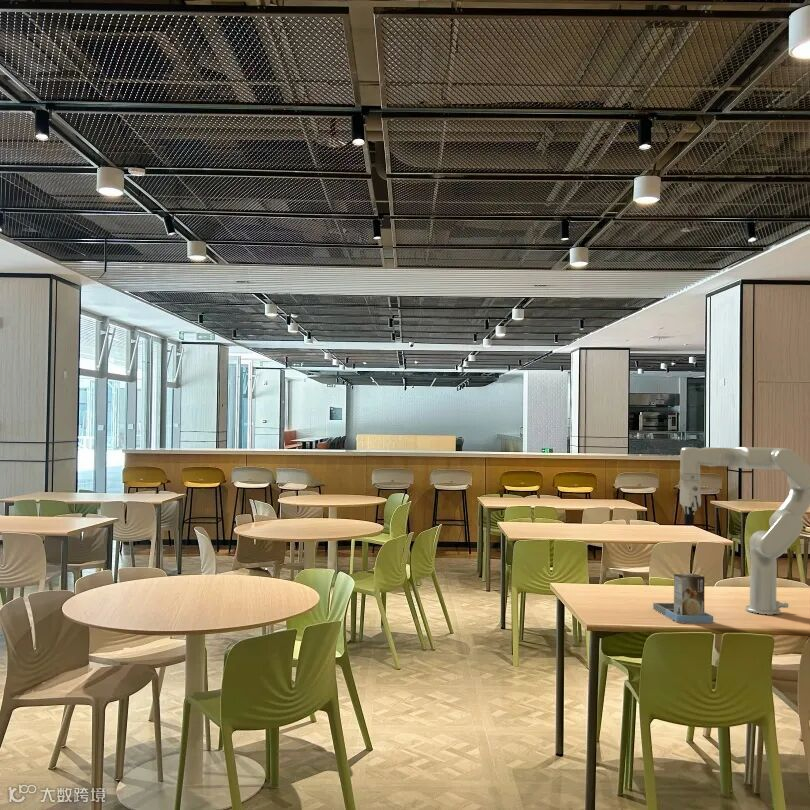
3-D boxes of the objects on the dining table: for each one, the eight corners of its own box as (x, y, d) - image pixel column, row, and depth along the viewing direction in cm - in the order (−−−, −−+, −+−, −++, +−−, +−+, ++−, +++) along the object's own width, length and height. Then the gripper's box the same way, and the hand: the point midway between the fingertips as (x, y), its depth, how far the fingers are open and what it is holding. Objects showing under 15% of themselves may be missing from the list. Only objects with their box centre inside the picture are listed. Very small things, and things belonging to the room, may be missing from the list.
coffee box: (695, 616, 299) (696, 573, 299) (704, 620, 292) (705, 576, 293) (672, 616, 297) (673, 573, 298) (681, 620, 291) (682, 576, 291)
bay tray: (686, 609, 311) (686, 603, 312) (713, 623, 290) (713, 616, 290) (653, 609, 310) (653, 602, 310) (677, 622, 289) (677, 615, 289)
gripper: (707, 479, 310) (706, 526, 310) (690, 477, 325) (689, 522, 325) (689, 479, 310) (688, 526, 309) (672, 476, 325) (672, 521, 324)
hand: (689, 524), depth 317 cm, fingers closed
